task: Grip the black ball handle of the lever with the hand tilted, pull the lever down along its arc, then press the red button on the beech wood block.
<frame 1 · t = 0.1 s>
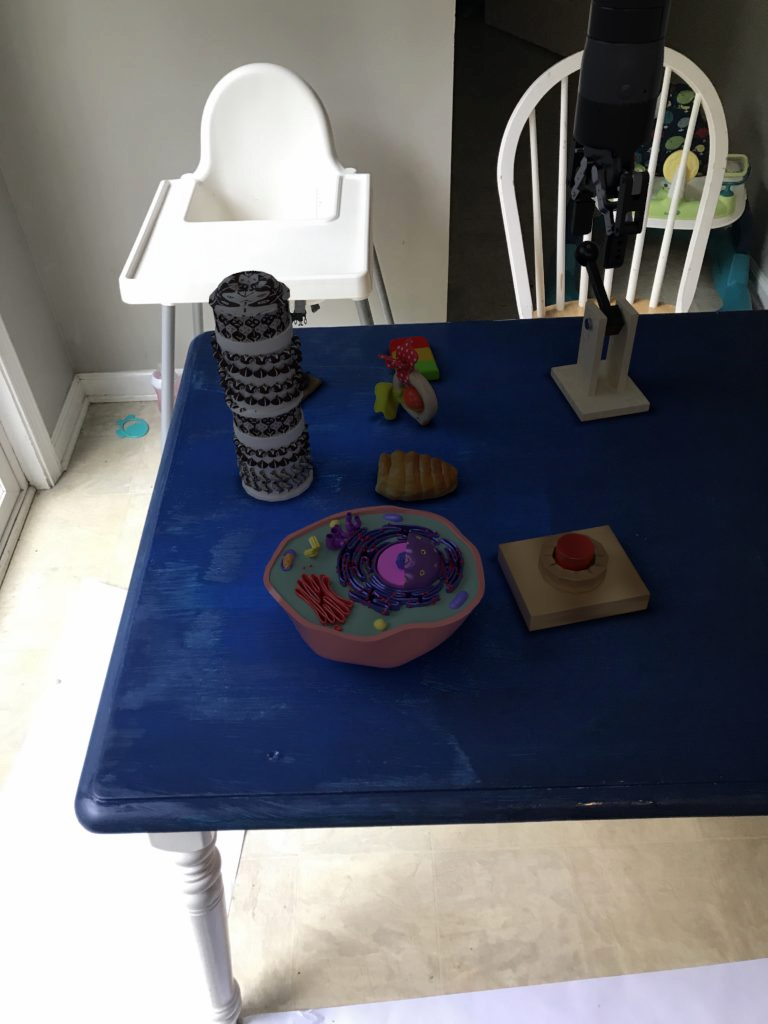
hand: (595, 249, 90), 22 cm above the table, tool pointing down, fingers open, 8 cm apart
decorative candle: (277, 479, 98), on the table
bird rattle: (410, 418, 106), on the table
cell model: (378, 628, 81), on the table
button block: (569, 583, 84), on the table
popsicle: (416, 377, 113), on the table
lever: (598, 286, 103), point 13 cm above the table, hinge at 28.0°
button: (574, 552, 81), point 4 cm above the table, slide at 0.1 cm
bracket: (598, 392, 109), on the table
bread roll: (276, 389, 112), on the table
pastry: (410, 485, 96), on the table
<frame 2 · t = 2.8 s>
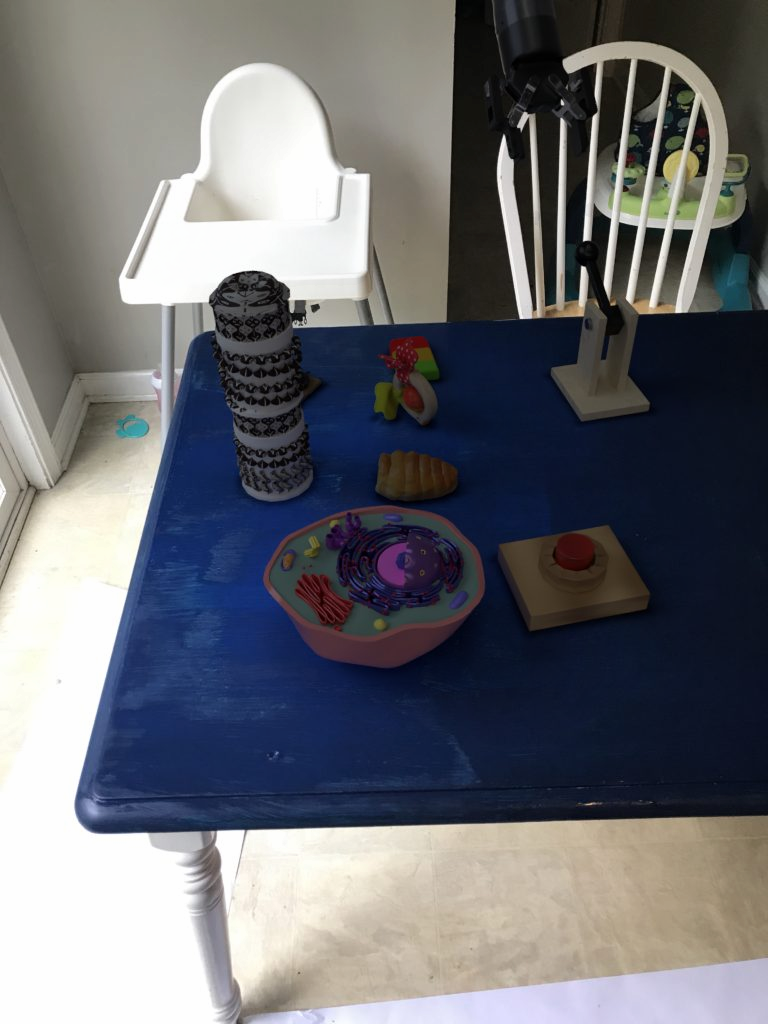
hand: (550, 157, 105), 24 cm above the table, tool tilted 40°, fingers open, 8 cm apart
nothing on the table moved.
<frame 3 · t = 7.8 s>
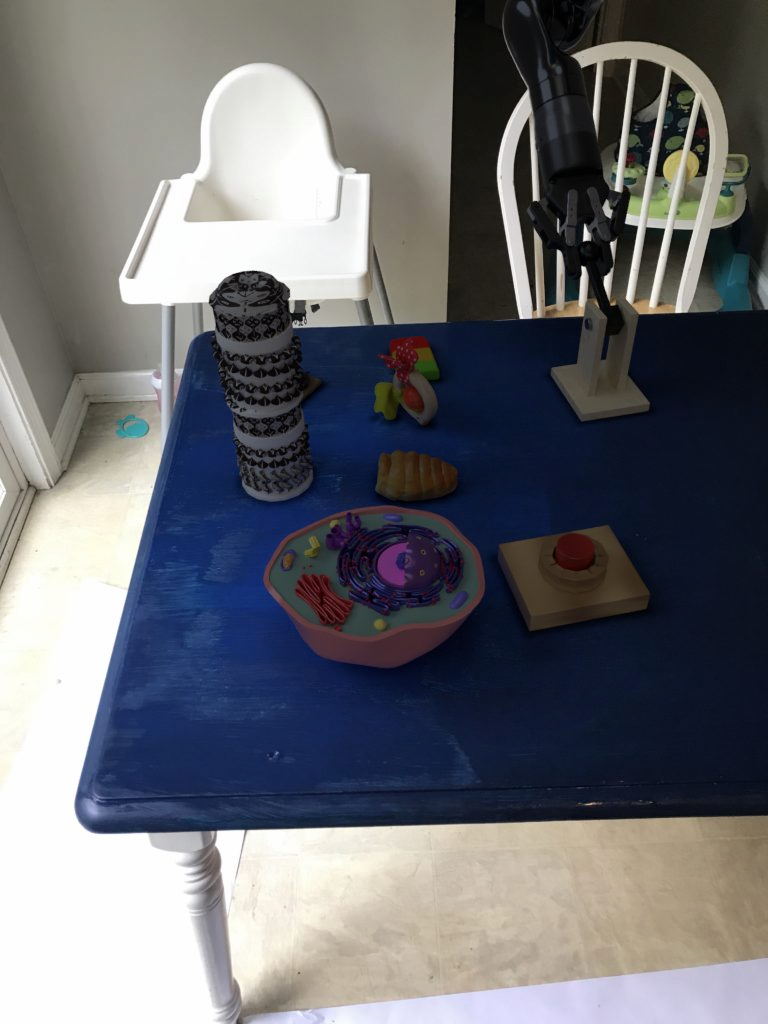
hand: (591, 275, 105), 13 cm above the table, tool tilted 45°, fingers closed on lever, 3 cm apart
lever: (598, 286, 103), point 13 cm above the table, hinge at 28.0°, touching gripper
everything else where it was.
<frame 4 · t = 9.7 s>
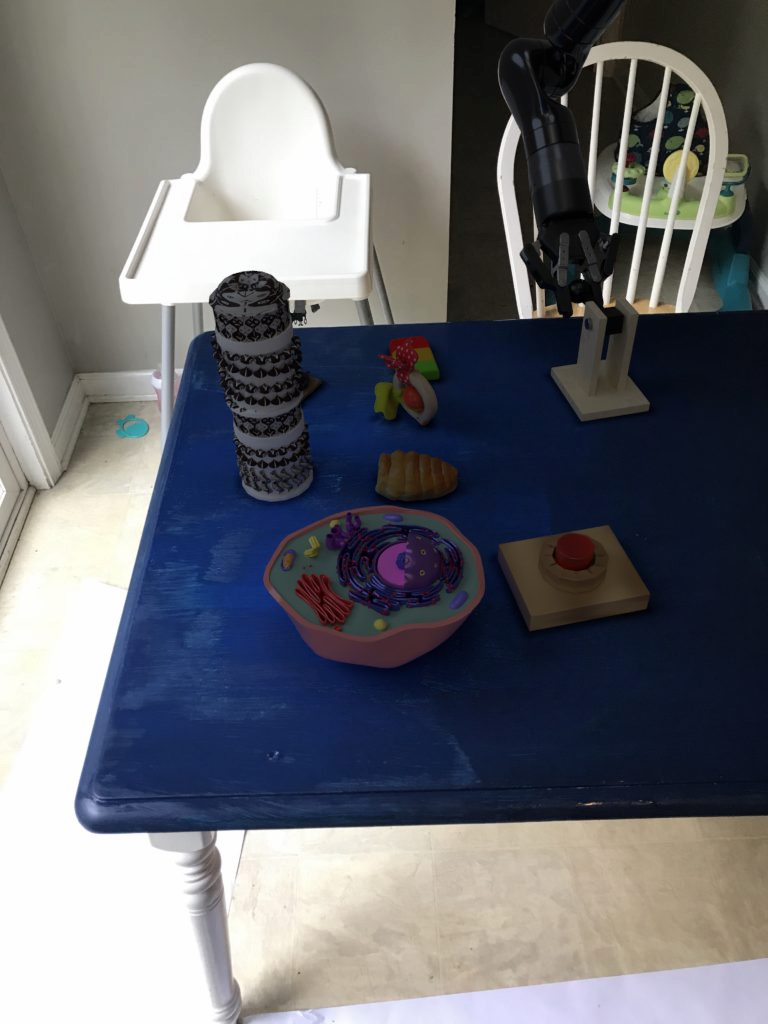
hand: (582, 314, 109), 7 cm above the table, tool tilted 45°, fingers closed on lever, 3 cm apart
lever: (593, 305, 106), point 10 cm above the table, hinge at -5.8°, touching gripper
everything else where it was.
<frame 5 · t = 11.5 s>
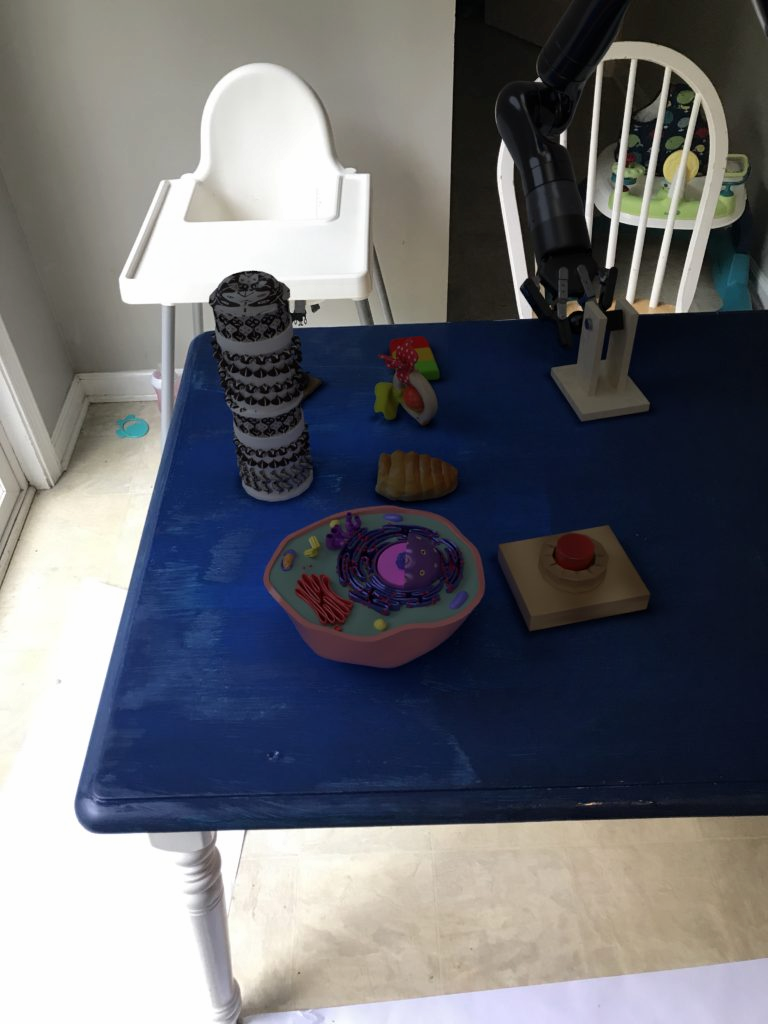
hand: (582, 346, 111), 3 cm above the table, tool tilted 45°, fingers closed on lever, 3 cm apart
lever: (592, 321, 106), point 8 cm above the table, hinge at -29.9°, touching gripper
everything else where it was.
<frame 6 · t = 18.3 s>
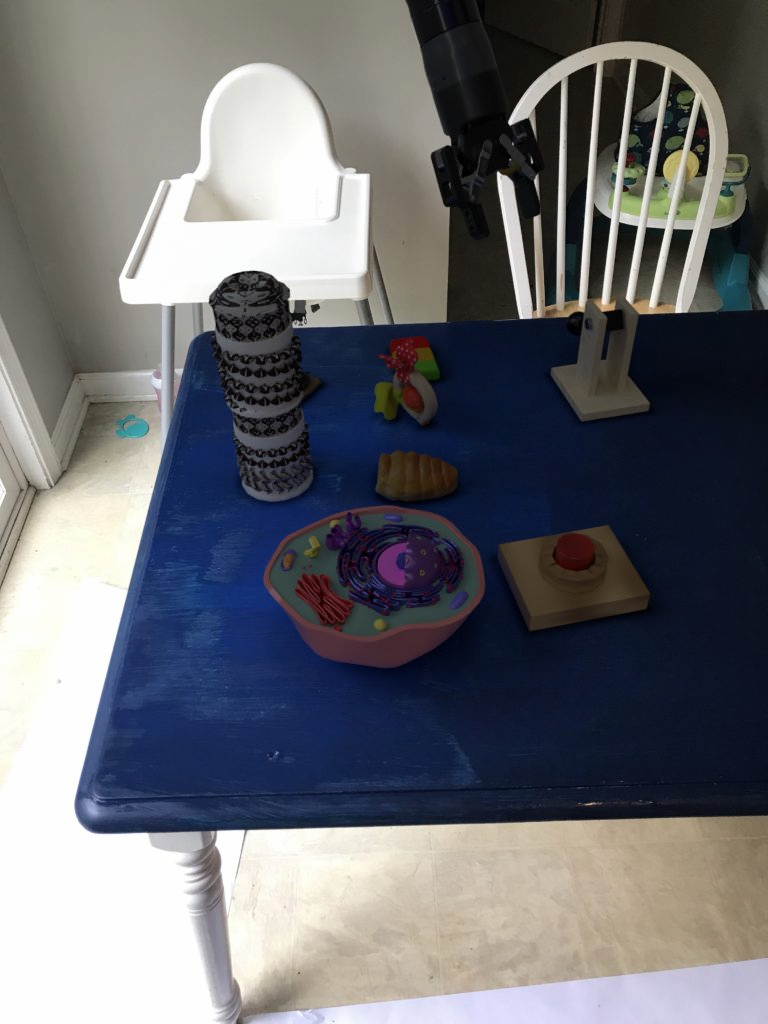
hand: (508, 227, 95), 22 cm above the table, tool tilted 30°, fingers open, 8 cm apart
lever: (593, 322, 107), point 8 cm above the table, hinge at -30.4°
everything else where it was.
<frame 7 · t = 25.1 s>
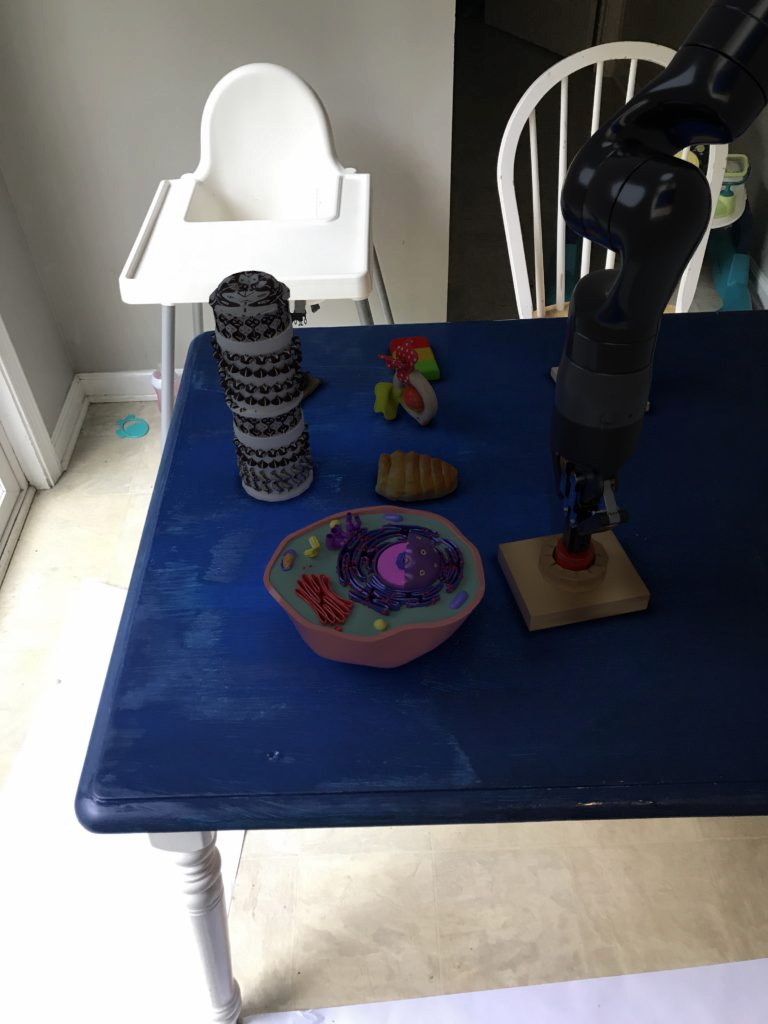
hand: (574, 546, 80), 5 cm above the table, tool pointing down, fingers closed
button: (574, 553, 81), point 4 cm above the table, slide at -0.1 cm, touching gripper
everything else where it was.
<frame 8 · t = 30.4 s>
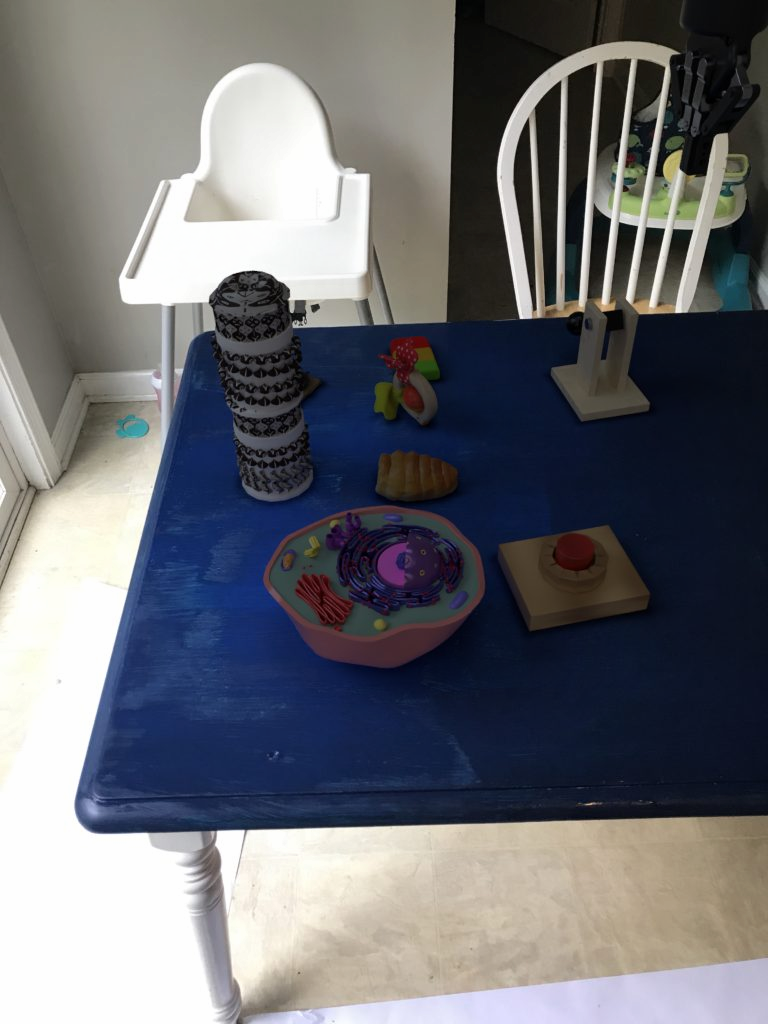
hand: (691, 172, 82), 31 cm above the table, tool pointing down, fingers closed
button: (574, 552, 81), point 4 cm above the table, slide at 0.1 cm
everything else where it was.
at the end: lever at -30° (first picture: +28°); button pushed in 1.1 cm at the most during the clip, back to where it started at the end; button slide at 0.1 cm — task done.
